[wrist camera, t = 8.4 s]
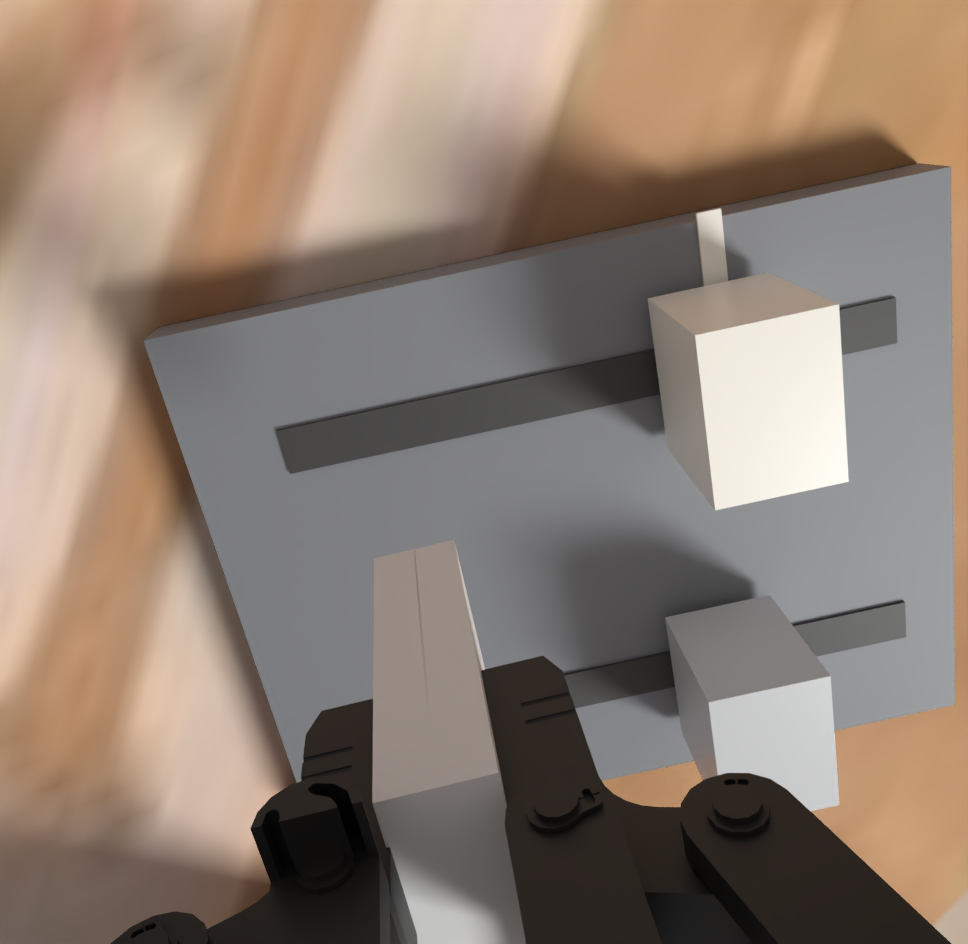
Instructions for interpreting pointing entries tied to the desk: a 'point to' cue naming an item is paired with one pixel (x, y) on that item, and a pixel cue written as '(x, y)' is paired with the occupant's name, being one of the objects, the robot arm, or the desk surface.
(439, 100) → the desk surface
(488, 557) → the panel
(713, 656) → the fader grey
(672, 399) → the fader ivory
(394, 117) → the desk surface
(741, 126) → the desk surface
